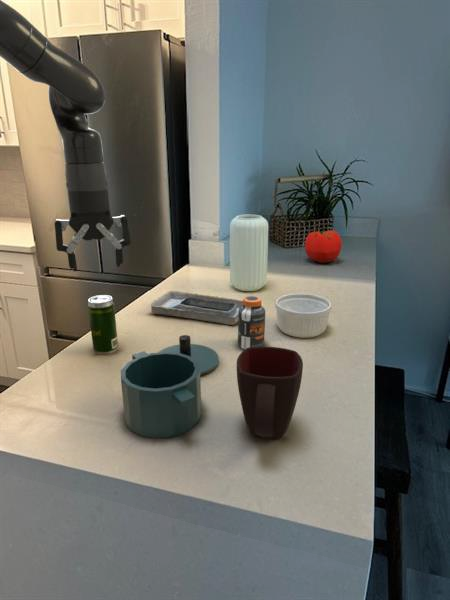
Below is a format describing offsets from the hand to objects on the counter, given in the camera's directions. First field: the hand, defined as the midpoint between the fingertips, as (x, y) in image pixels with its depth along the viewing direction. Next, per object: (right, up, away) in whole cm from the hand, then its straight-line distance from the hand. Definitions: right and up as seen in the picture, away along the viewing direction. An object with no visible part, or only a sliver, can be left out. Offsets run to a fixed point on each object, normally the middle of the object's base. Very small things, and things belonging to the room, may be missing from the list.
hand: (96, 268), depth 89 cm
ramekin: (+45, -14, +16) cm, 50 cm away
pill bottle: (+32, -17, +8) cm, 37 cm away
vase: (+34, -3, +47) cm, 58 cm away
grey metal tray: (+20, -10, +27) cm, 35 cm away
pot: (+16, -26, -16) cm, 34 cm away
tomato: (+63, +8, +75) cm, 99 cm away
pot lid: (+18, -19, 0) cm, 26 cm away
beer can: (0, -18, +7) cm, 19 cm away
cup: (+33, -28, -21) cm, 48 cm away
